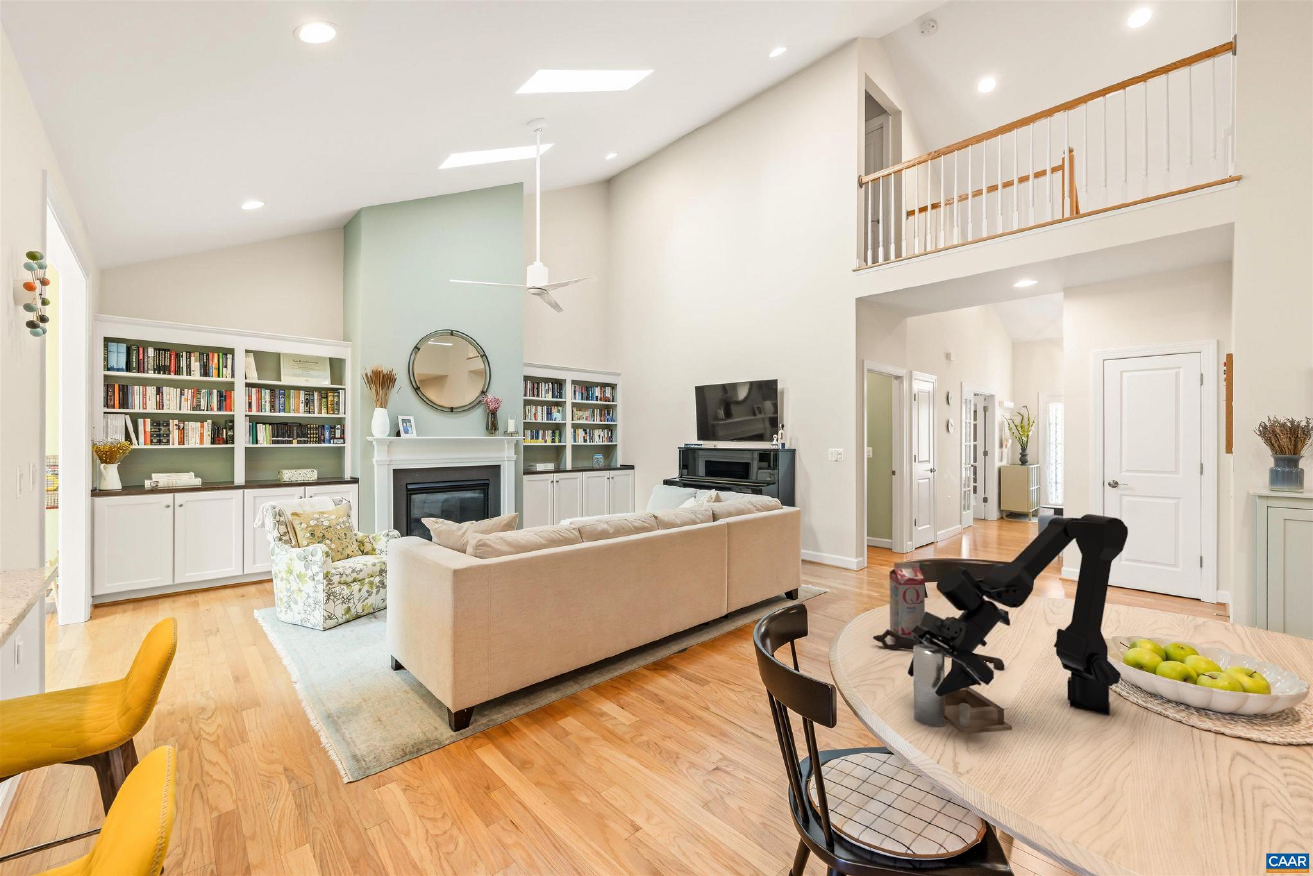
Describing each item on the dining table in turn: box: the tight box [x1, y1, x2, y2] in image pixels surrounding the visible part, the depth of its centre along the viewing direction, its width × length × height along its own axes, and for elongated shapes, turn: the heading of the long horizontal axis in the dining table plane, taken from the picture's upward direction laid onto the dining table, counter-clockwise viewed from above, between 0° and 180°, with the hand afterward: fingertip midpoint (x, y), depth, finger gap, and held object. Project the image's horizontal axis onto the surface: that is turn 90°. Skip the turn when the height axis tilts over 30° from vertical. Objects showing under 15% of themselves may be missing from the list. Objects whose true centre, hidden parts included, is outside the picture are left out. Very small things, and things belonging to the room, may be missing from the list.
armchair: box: [945, 686, 1013, 735], centre depth 116 cm, size 10×12×5 cm
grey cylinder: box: [912, 644, 946, 728], centre depth 115 cm, size 6×6×14 cm
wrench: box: [872, 628, 1006, 671], centre depth 146 cm, size 5×5×30 cm
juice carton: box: [889, 562, 926, 644], centre depth 156 cm, size 7×7×22 cm
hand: (922, 684), depth 114 cm, fingers open, 9 cm apart
